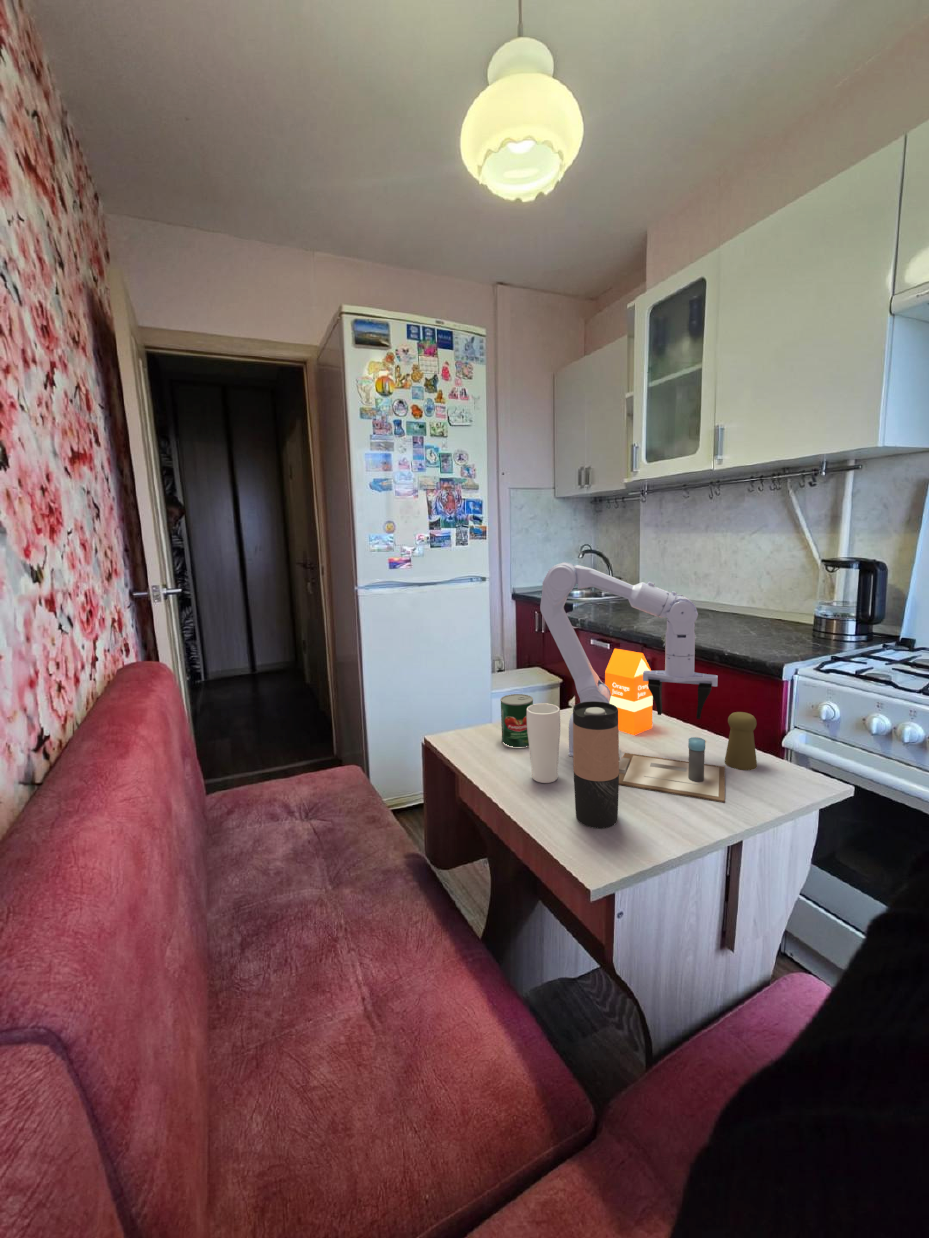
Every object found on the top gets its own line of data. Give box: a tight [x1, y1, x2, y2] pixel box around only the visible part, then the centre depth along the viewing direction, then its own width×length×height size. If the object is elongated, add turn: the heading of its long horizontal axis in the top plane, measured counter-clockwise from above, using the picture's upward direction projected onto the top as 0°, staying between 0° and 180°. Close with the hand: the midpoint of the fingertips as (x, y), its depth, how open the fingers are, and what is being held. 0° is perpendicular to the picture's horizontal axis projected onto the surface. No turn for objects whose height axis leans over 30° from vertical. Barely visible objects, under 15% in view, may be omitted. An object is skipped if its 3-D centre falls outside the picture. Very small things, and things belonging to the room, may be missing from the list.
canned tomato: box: [500, 693, 534, 748], centre depth 123 cm, size 8×8×11 cm
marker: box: [687, 736, 706, 782], centre depth 100 cm, size 3×3×8 cm
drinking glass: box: [526, 702, 561, 784], centre depth 104 cm, size 7×7×15 cm
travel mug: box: [572, 701, 620, 830], centre depth 88 cm, size 8×8×20 cm
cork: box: [724, 711, 758, 771], centre depth 106 cm, size 6×6×11 cm
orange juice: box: [604, 648, 654, 736], centre depth 129 cm, size 8×9×20 cm
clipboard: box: [619, 752, 726, 803], centre depth 103 cm, size 20×15×1 cm
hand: (678, 715), depth 109 cm, fingers open, 7 cm apart
